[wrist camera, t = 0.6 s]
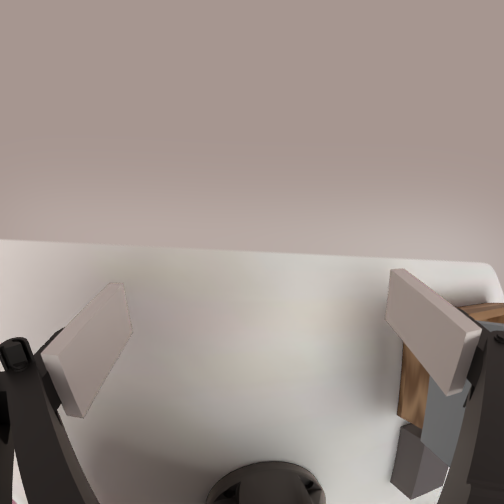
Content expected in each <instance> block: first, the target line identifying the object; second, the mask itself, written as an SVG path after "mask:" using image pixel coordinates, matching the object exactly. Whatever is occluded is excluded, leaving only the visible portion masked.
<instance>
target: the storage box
mask: <svg viewBox="0 0 504 504" xmlns="http://www.w3.org/2000/svg"><path fill="white" fill-rule="evenodd" d="M457 308H460V309H462V310H464V311H465V312H466V313H467V314H469V316H471V317H472V318H474V319H475V320H478V321H486V322H494V323H503V324H504V303H483V304H476V305H470V306H463V307H457ZM429 377H430V374H429V373H428V372H427V371H426V369H425V368H424V367H423V365H422V364H421V363H420V362H419V360H418V359H417V358H416V357H415V355H414V354H413V353H412V352H411V350H410V349H409V348H408V347H407V345H406V344H405V343H404V342H403V356H402V371H401V383H400V393H399V402H398V411H397V415H398V416H400V417H401V418H403V419H405V420H406V421H408V422H410V423H412V424H413V425H415V426H417V427H419V428H421V429H423V423H424V416H425V410H426V403H427V395H428V387H429Z"/></svg>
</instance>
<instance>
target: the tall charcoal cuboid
mask: <svg viewBox="0 0 504 504" xmlns="http://www.w3.org/2000/svg"><path fill="white" fill-rule="evenodd" d="M421 434H422V429H421V428H419V427H417V426H415V425H413V424H409V425H406V426H402V427H401V430H400V436H399V442H398V447H397V453H396V458H395V463H394V468H393V472H392V477H391V481H390V482H391V483H392V484H393V485H394V486H395V487H397V488H398V489H399V490H400V491H401V492H402V493H404V494H405V495H406V496H407V497H408V498H409V499H410V500H411V499H414V498H416V497H419V496H421V495H423V494H425V493H428V492H430V491H432V490H434V489H436V488H439V487H441V486H443V483H444V480H445V476H446V473H447V470H448V465H447V464H445V463H444V462H443V461H442V460H441V459H440V458H439V457H438V456H437V455H435V454H434V453H433V452H432V451H431V450H430V449H429V448H428V447H427V446H426V445H424V444H423V443H422V442H421V441H420V440H421Z"/></svg>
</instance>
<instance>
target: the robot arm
mask: <svg viewBox="0 0 504 504" xmlns="http://www.w3.org/2000/svg"><path fill="white" fill-rule="evenodd" d="M385 320H386V321H387V322H388V323H389V325H390V326H391V327H392V328H393V330H394V331H395V332H396V333H397V334H398V336H399V337H400V338H401V339H402V340H403V342H404V343H405V344H406V345H407V347H408V348H409V349H410V350H411V352H412V353H413V354H414V355H415V357H416V358H417V359H418V360H419V362H420V363H421V364H422V365H423V367H424V368H425V369H426V371H427V372H428V373H429V374H430V376H431V377H432V378H433V380H434V381H435V382H436V383H437V385H438V386H439V387H440V389H441V390H442V391H443V393H444V394H445V395H446V396H450V395H453V394H456V393H459V392H462V390H463V387H464V384H465V382H466V379H467V380H468V381H469V382H470V383H471V387H470V390H469V392H468V395H467V397H466V400H465V402H464V405H463V407H464V408H465V407H466V408H465V413H464V417H463V422H462V426H461V430H460V434H459V438H458V442H457V445H456V449H455V452H454V456H453V459H452V463H451V466H450V469H449V472H448V475H447V478H446V481H445V484H444V487H443V489H442V492H441V495H440V498H439V500H438V503H437V504H504V331H498V330H496V331H492V332H490V331H489V330H487V329H486V328H485V327H484V326H482V325H481V324H480V323H479V322H477V321H475V319H474V318H472V317H471V316H469V314H467V313H466V312H465V311H464V310H462V309H460V308H457V307H455V306H453V305H451V304H450V303H449V302H448V301H446V300H445V299H444V298H442V297H441V296H440V295H439V294H437V293H436V292H435V291H433V290H432V289H431V288H429V287H428V286H427V285H425V284H424V283H423V282H421V281H420V280H419V279H417V278H416V277H415V276H413V275H412V274H410V273H409V272H408V271H406V270H405V269H391V270H390V281H389V291H388V299H387V307H386V315H385ZM132 333H133V330H132V325H131V321H130V316H129V311H128V306H127V301H126V296H125V290H124V285H123V283H109V284H108V285H107V286H106V287H105V288H104V289H103V290H102V291H101V292H100V293H99V294H98V295H97V296H96V297H95V298H94V299H93V300H92V301H91V302H90V303H89V304H88V305H87V306H86V307H85V308H84V309H83V310H82V311H81V312H80V313H79V314H78V315H77V316H76V317H75V318H74V319H73V320H72V321H71V322H70V323H69V324H68V325H67V326H66V327H64V328H62V329H60V330H59V331H57V332H55V333H54V334H53V335H52V337H51V338H50V340H48V341H47V342H46V343H45V345H43V346H42V347H41V348H40V349H39V350H38V351H37V352H36V353H35V354H34V355H33V353H32V351H31V348H30V345H29V342H28V341H27V339H25V338H23V337H16V338H11V339H9V340H6V341H4V342H3V343H1V344H0V360H1V363H2V365H3V367H4V370H5V371H4V372H0V504H12V480H13V461H14V449H15V453H16V458H17V462H18V467H19V471H20V475H21V479H22V483H23V487H24V490H25V494H26V497H27V500H28V504H99V502H98V500H97V498H96V496H95V495H94V493H93V491H92V489H91V487H90V485H89V483H88V481H87V479H86V477H85V475H84V473H83V471H82V468H81V466H80V464H79V462H78V460H77V457H76V455H75V453H74V451H73V448H72V446H71V443H70V441H69V439H68V436H67V433H66V431H65V428H64V426H63V423H62V420H61V418H60V415H59V413H58V411H57V409H58V408H59V406H60V404H62V406H63V408H64V411H65V413H66V415H68V416H73V417H79V418H84V417H85V415H86V413H87V411H88V409H89V408H90V406H91V404H92V402H93V400H94V399H95V397H96V395H97V393H98V392H99V390H100V388H101V386H102V384H103V383H104V381H105V379H106V377H107V376H108V374H109V372H110V371H111V369H112V367H113V365H114V364H115V362H116V360H117V359H118V357H119V355H120V354H121V352H122V350H123V348H124V347H125V345H126V343H127V342H128V340H129V338H130V337H131V335H132ZM206 504H326V498H325V493H324V491H323V489H322V487H321V485H320V484H319V482H318V481H317V479H316V478H315V477H314V475H313V474H312V473H310V472H309V471H308V470H306V469H304V468H302V467H300V466H298V465H295V464H291V463H285V462H263V463H257V464H252V465H249V466H245V467H242V468H240V469H238V470H235V471H233V472H231V473H230V474H228V475H226V476H225V477H223V478H222V479H221V480H220V481H219V482H217V483H216V485H215V486H214V487H213V488H212V489H211V491H210V493H209V495H208V497H207V500H206Z"/></svg>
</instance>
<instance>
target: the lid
mask: <svg viewBox="0 0 504 504" xmlns="http://www.w3.org/2000/svg"><path fill="white" fill-rule="evenodd" d="M475 321H477V322H479V323H480V324H481V325H482V326H484V327H485V328H486V329H487V330H489V331H490V332H492V331H496V330H498V331H504V324H503V323H494V322H486V321H478V320H475ZM470 387H471V383H470V382H469V381H468V380H467V379H466V382H465V384H464V387H463V390H462V392H459V393H456V394H453V395H450V396H446V395H445V394H444V393H443V391H442V390H441V389H440V387H439V386H438V385H437V383H436V382H435V381H434V380H433V378H432V377H431V376H430V377H429V387H428V395H427V403H426V410H425V416H424V423H423V429H422V434H421V440H420V441H421V442H422V443H423V444H424V445H426V446H427V447H428V448H429V449H430V450H431V451H432V452H433V453H434V454H435V455H437V456H438V457H439V458H440V459H441V460H442V461H443V462H444V463H445V464H447V465H448V466H449V467H450V466H451V463H452V459H453V456H454V452H455V449H456V445H457V442H458V438H459V434H460V430H461V426H462V422H463V417H464V413H465V408H466V407H465V408H464V407H463V405H464V402H465V400H466V397H467V395H468V392H469V390H470Z"/></svg>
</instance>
